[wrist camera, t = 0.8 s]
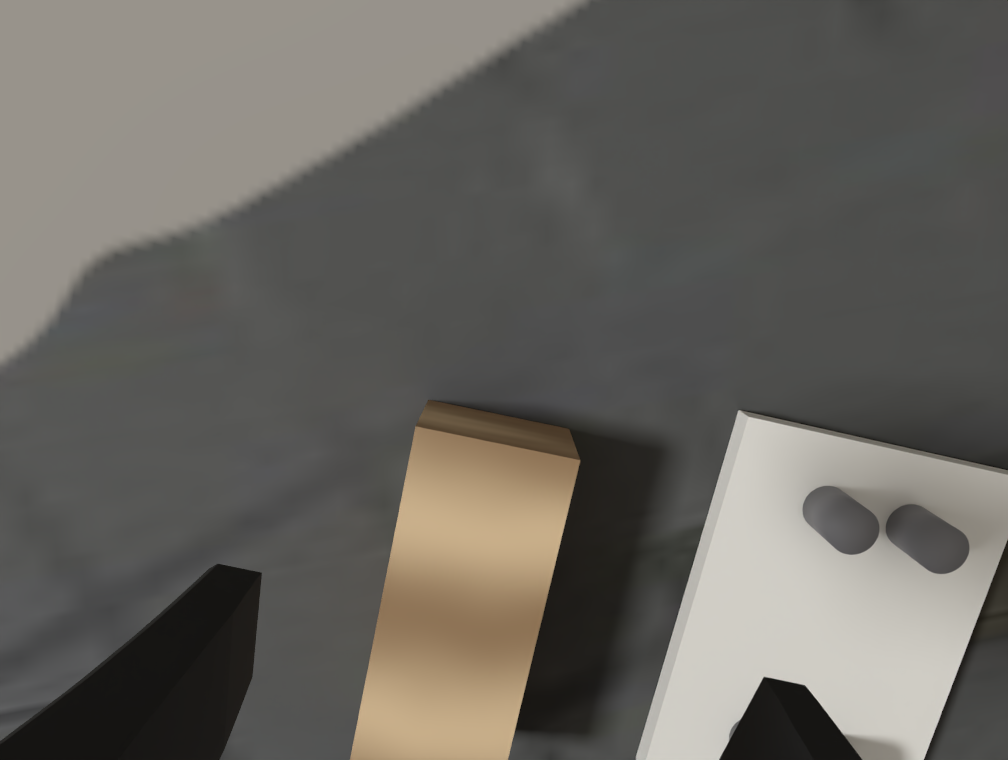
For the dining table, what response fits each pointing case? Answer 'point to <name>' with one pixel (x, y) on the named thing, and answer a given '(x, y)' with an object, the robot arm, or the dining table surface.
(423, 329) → the dining table surface
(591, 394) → the dining table surface
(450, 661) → the tan rectangular block
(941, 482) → the peg stand
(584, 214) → the dining table surface
